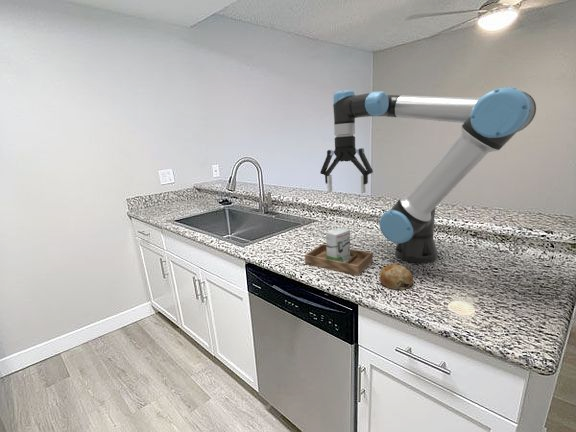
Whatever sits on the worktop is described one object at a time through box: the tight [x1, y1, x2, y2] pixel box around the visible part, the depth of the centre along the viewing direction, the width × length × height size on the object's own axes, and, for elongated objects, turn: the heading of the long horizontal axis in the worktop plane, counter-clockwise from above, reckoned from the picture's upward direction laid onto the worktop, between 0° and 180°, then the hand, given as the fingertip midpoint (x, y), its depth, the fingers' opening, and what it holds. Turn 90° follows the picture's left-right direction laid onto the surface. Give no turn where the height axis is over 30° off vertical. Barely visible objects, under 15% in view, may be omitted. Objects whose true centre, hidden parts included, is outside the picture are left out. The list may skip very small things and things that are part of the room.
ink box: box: [325, 227, 351, 262], centre depth 114 cm, size 9×5×12 cm, turn 131°
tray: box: [304, 243, 374, 277], centre depth 116 cm, size 22×14×4 cm, turn 54°
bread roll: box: [378, 263, 414, 291], centre depth 98 cm, size 10×10×8 cm
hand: (346, 192), depth 118 cm, fingers open, 13 cm apart
